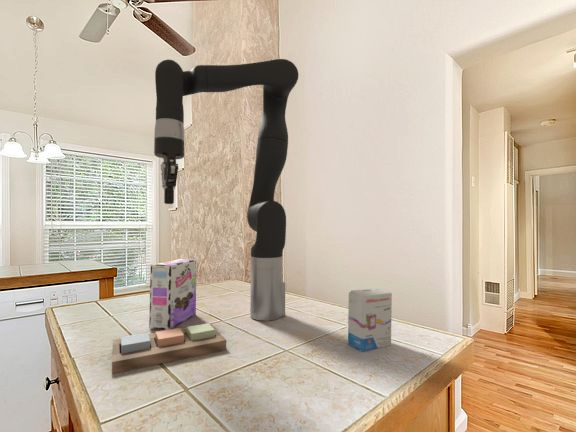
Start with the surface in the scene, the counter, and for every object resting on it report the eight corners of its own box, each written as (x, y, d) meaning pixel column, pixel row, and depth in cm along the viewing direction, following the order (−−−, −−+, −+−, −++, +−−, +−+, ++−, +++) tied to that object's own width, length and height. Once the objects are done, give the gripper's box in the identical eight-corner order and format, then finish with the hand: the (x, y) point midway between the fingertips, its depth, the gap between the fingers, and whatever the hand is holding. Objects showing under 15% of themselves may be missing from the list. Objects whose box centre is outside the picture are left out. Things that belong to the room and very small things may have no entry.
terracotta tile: (179, 341, 68) (179, 327, 68) (183, 349, 64) (184, 334, 64) (155, 345, 66) (155, 331, 66) (158, 354, 61) (158, 339, 61)
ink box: (362, 353, 63) (362, 295, 63) (347, 344, 67) (347, 290, 68) (392, 345, 67) (392, 291, 67) (376, 337, 71) (376, 287, 72)
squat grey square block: (147, 347, 65) (147, 332, 65) (149, 355, 60) (150, 340, 61) (120, 351, 62) (121, 337, 62) (121, 361, 58) (121, 345, 58)
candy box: (169, 331, 76) (170, 264, 76) (148, 329, 77) (149, 264, 77) (196, 314, 89) (197, 258, 90) (178, 313, 90) (179, 258, 91)
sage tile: (208, 336, 71) (208, 323, 71) (214, 343, 67) (214, 329, 67) (186, 340, 69) (186, 326, 69) (191, 348, 64) (191, 333, 64)
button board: (210, 332, 75) (211, 323, 75) (226, 349, 65) (226, 340, 65) (112, 349, 65) (112, 339, 65) (111, 373, 54) (112, 362, 54)
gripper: (189, 135, 78) (188, 202, 77) (179, 146, 89) (179, 205, 89) (157, 130, 74) (156, 201, 74) (151, 143, 86) (151, 204, 85)
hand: (168, 203), depth 81 cm, fingers closed
